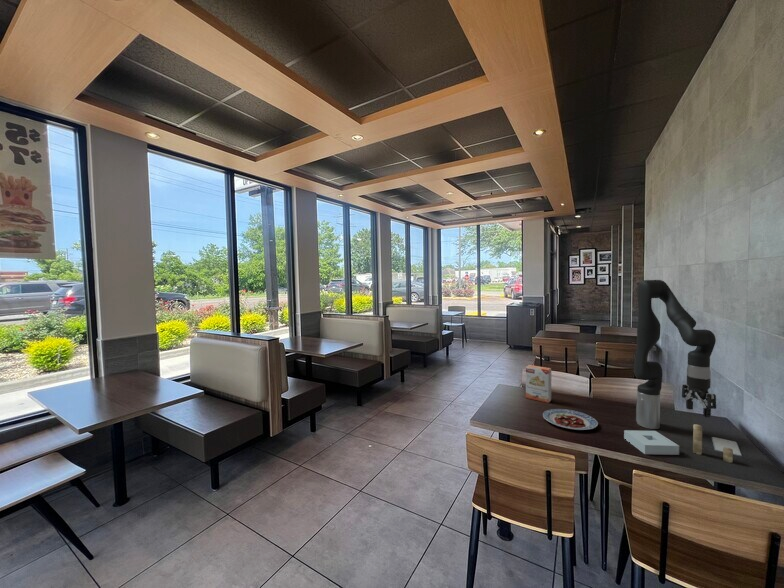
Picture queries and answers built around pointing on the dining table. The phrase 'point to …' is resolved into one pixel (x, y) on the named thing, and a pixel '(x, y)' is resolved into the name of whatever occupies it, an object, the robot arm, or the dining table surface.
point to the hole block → (651, 442)
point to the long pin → (697, 439)
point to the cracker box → (538, 383)
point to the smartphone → (726, 445)
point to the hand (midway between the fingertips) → (698, 412)
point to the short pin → (728, 455)
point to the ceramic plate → (570, 419)
